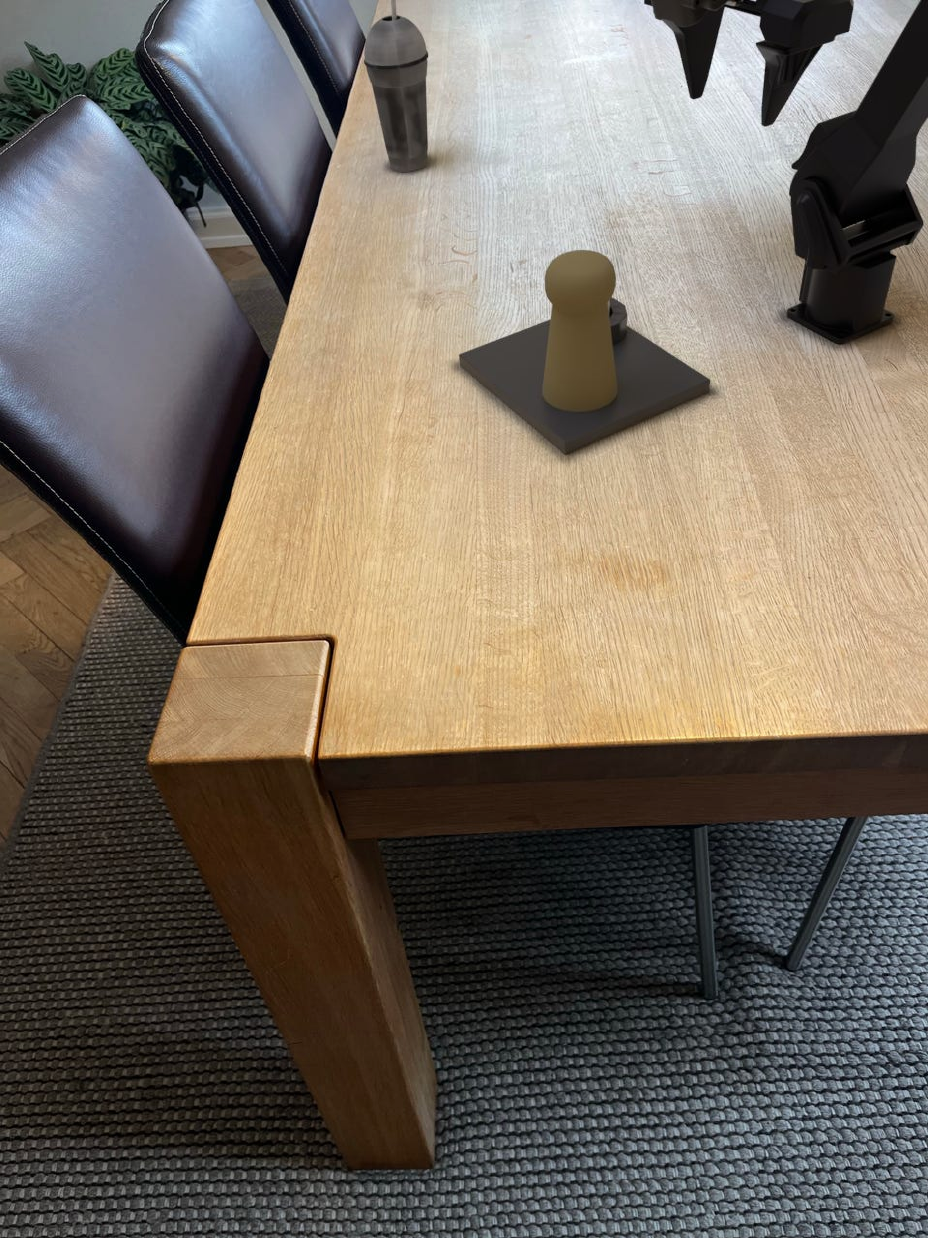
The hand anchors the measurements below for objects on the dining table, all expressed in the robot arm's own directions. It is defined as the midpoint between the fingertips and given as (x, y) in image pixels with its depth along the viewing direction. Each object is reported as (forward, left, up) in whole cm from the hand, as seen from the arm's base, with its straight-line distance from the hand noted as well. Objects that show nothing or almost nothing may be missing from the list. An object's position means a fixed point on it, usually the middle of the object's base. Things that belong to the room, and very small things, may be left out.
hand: (730, 111), depth 85 cm
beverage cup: (+41, +12, -13) cm, 45 cm away
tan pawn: (-13, +25, -12) cm, 31 cm away
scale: (-10, +23, -13) cm, 28 cm away
